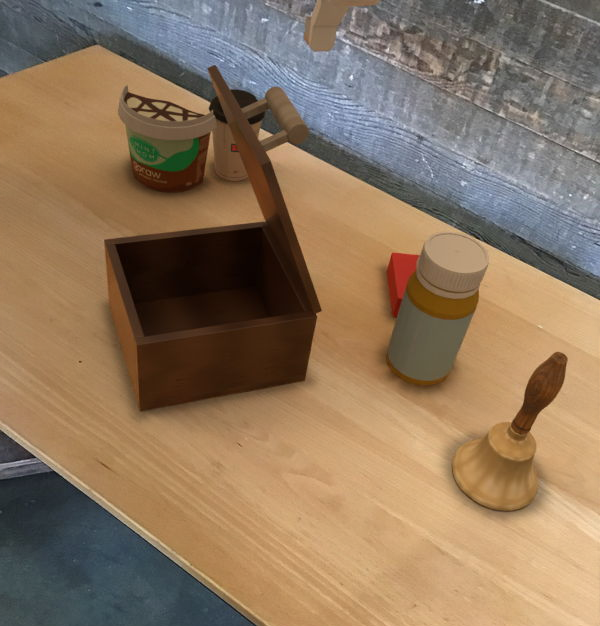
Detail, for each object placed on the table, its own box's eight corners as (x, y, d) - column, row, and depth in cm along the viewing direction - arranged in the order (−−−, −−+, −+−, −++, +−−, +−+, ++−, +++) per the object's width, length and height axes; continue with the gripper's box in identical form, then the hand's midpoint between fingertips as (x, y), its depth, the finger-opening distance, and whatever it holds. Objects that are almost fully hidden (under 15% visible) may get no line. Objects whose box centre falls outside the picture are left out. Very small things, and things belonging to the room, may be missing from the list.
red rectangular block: (451, 322, 86) (467, 279, 81) (392, 317, 85) (405, 273, 80) (442, 276, 91) (457, 233, 86) (386, 271, 90) (398, 227, 85)
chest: (139, 411, 72) (136, 345, 65) (109, 307, 80) (103, 239, 74) (305, 380, 77) (317, 316, 70) (259, 286, 86) (267, 220, 79)
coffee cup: (195, 164, 100) (197, 92, 92) (238, 151, 103) (243, 80, 96) (227, 192, 97) (231, 119, 89) (269, 177, 100) (277, 105, 93)
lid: (260, 165, 56) (322, 136, 56) (206, 68, 64) (260, 43, 64) (314, 314, 70) (363, 292, 70) (264, 218, 79) (308, 198, 79)
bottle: (459, 359, 82) (505, 248, 71) (433, 399, 77) (477, 287, 66) (402, 332, 84) (437, 219, 72) (373, 368, 79) (406, 254, 68)
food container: (103, 180, 95) (97, 105, 87) (126, 156, 99) (122, 82, 91) (194, 209, 93) (196, 134, 86) (214, 183, 97) (217, 111, 90)
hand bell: (462, 428, 75) (517, 309, 63) (543, 459, 74) (615, 343, 62) (442, 491, 70) (498, 374, 58) (529, 525, 69) (604, 412, 57)
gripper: (224, -265, 51) (215, -40, 61) (337, -174, 39) (302, 87, 49) (311, -256, 53) (288, -40, 63) (445, -167, 41) (389, 82, 51)
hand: (295, 17), depth 56 cm, fingers open, 8 cm apart
